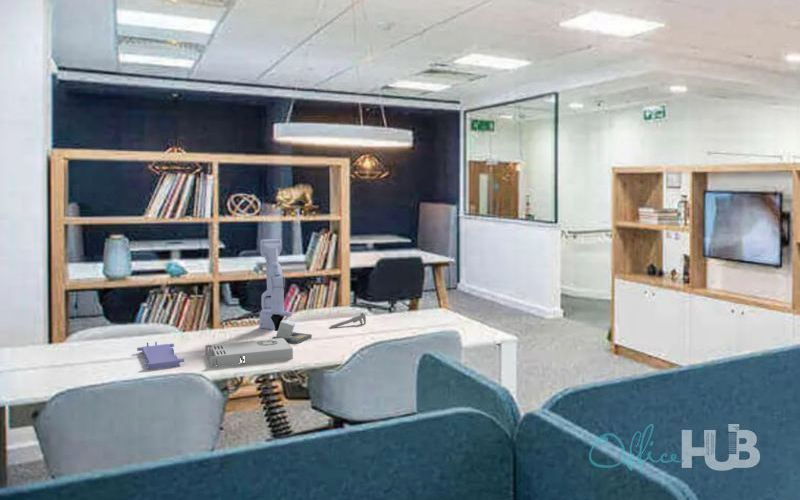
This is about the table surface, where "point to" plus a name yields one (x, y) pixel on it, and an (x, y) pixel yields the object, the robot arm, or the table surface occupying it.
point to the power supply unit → (248, 351)
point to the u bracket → (296, 337)
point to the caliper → (351, 320)
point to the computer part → (160, 356)
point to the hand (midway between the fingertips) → (277, 330)
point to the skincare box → (285, 329)
